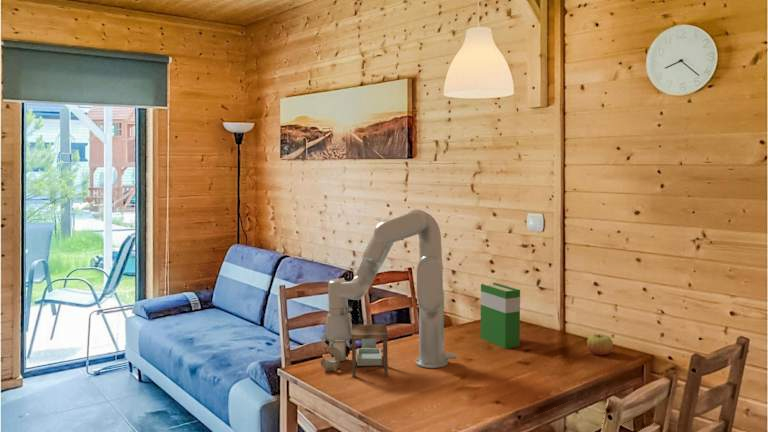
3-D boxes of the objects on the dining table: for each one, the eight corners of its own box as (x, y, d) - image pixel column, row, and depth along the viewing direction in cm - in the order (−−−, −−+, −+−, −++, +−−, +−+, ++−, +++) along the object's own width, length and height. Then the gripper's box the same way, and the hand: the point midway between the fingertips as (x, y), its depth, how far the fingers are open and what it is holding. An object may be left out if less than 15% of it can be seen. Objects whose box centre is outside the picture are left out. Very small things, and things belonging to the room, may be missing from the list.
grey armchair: (380, 347, 259) (379, 334, 258) (381, 365, 236) (381, 351, 235) (357, 347, 259) (357, 335, 258) (357, 365, 236) (357, 352, 235)
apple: (585, 355, 247) (586, 336, 246) (587, 348, 256) (588, 330, 255) (612, 358, 243) (612, 338, 242) (612, 351, 252) (613, 332, 251)
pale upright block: (346, 356, 246) (346, 339, 246) (346, 360, 241) (345, 343, 241) (333, 357, 246) (333, 339, 246) (333, 361, 241) (332, 343, 240)
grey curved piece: (325, 371, 226) (321, 345, 230) (319, 376, 231) (315, 350, 235) (347, 369, 229) (342, 343, 234) (340, 374, 235) (336, 348, 239)
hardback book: (480, 337, 273) (480, 284, 271) (494, 335, 276) (494, 282, 274) (505, 348, 257) (505, 291, 255) (519, 346, 260) (520, 290, 258)
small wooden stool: (386, 364, 237) (386, 324, 236) (387, 377, 224) (387, 334, 222) (352, 365, 237) (352, 324, 236) (352, 378, 223) (351, 335, 222)
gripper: (360, 307, 246) (361, 352, 248) (317, 309, 245) (318, 353, 247) (360, 312, 239) (361, 358, 240) (316, 313, 238) (317, 359, 240)
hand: (339, 355), depth 244 cm, fingers closed on pale upright block, 5 cm apart
